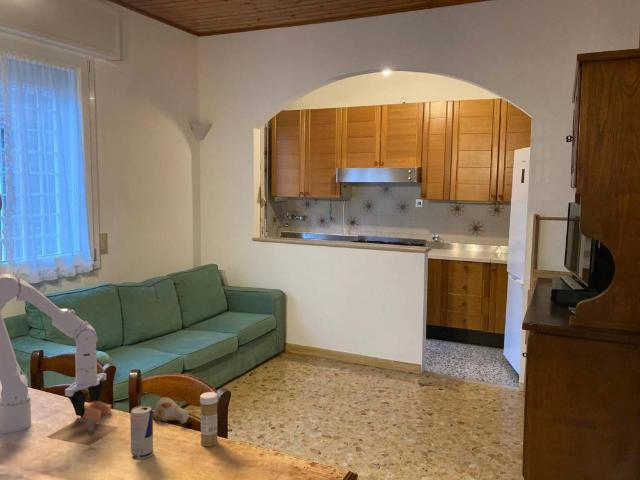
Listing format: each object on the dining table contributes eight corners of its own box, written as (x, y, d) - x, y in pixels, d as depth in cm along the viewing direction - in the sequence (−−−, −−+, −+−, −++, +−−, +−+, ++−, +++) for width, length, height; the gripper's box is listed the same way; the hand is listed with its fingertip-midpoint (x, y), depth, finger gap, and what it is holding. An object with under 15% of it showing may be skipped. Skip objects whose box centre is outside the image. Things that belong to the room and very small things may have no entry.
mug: (186, 429, 145) (167, 401, 143) (160, 438, 148) (142, 411, 146) (197, 413, 152) (180, 386, 150) (173, 422, 155) (155, 395, 153)
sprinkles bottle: (215, 438, 139) (215, 390, 138) (219, 445, 135) (219, 396, 134) (198, 440, 138) (198, 392, 136) (201, 448, 133) (201, 398, 132)
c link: (80, 418, 148) (81, 406, 147) (94, 411, 153) (95, 400, 152) (96, 423, 146) (97, 412, 145) (110, 416, 151) (111, 405, 150)
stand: (46, 442, 135) (46, 422, 135) (77, 425, 146) (76, 406, 145) (89, 450, 131) (89, 430, 131) (118, 432, 142) (118, 413, 141)
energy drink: (157, 451, 131) (157, 406, 130) (143, 461, 126) (143, 415, 125) (140, 448, 133) (139, 403, 132) (126, 458, 128) (125, 411, 127)
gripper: (79, 376, 141) (80, 423, 142) (114, 360, 155) (115, 403, 156) (58, 373, 143) (59, 419, 144) (95, 358, 157) (96, 400, 158)
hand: (87, 411), depth 150 cm, fingers closed on c link, 5 cm apart
